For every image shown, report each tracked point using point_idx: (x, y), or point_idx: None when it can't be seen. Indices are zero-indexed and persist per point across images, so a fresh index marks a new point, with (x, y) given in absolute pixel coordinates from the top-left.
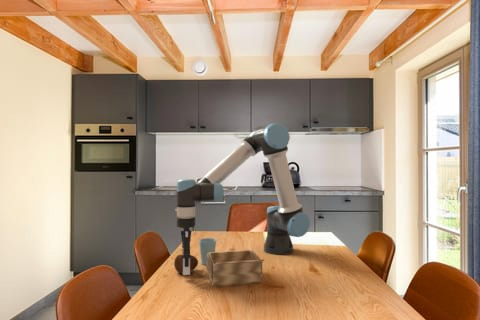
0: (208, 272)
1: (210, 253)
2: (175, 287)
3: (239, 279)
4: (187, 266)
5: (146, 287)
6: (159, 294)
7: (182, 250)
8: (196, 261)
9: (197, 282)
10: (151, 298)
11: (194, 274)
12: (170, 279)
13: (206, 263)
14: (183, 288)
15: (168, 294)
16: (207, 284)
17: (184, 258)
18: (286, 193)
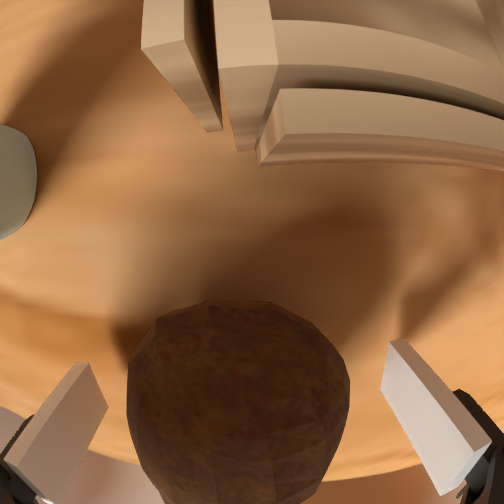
0: (454, 165)
1: (265, 11)
2: (463, 371)
3: (498, 10)
4: (458, 398)
5: (402, 466)
6: (484, 402)
7: (62, 495)
8: (293, 342)
9: (454, 258)
10: (493, 410)
11: (281, 293)
12: (346, 428)
13: (28, 186)
14: (489, 330)
15: (501, 373)
16: (489, 189)
17: (461, 476)
18: None
